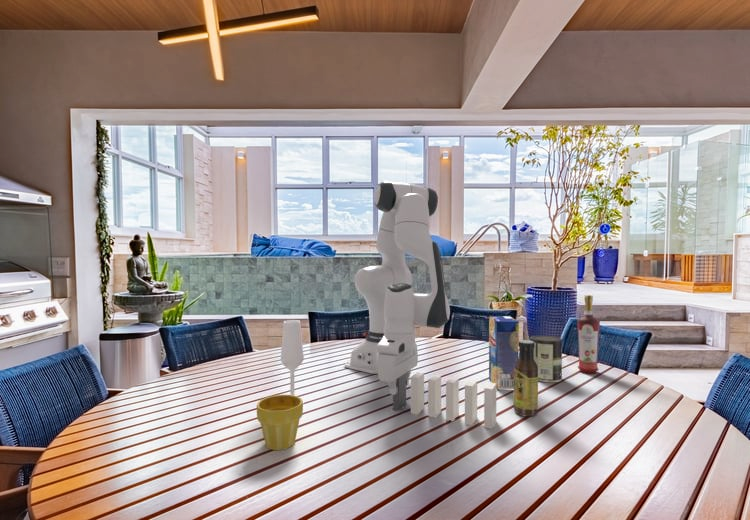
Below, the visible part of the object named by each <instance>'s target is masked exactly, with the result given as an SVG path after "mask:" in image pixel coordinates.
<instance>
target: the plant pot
mask: <svg viewBox="0 0 750 520" xmlns="http://www.w3.org/2000/svg"><path fill="white" fill-rule="evenodd" d="M302 400H303V399H302V398H301V397H300V396H297V395H295V396H294V395H290V394H276V395H270V396H268V397H264V398H262V399H260V400H259V401H258V402H257V404H256V418H257V419H256V420H257V421H258V422H259V423H260V426H261V431H262V434H263V439H264V444H265V446H266V448H268V449H269V450H272V451H282V450H286V449H289V448H291V447H292V446H293V445H294V444H295V443H296V438H297V433H298V429H299V424H300V419H301V418H302V417H303V414H304V412H303V411H304V403H303V401H304V400H303V401H302Z"/></svg>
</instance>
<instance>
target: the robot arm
mask: <svg viewBox="0 0 750 520" xmlns="http://www.w3.org/2000/svg"><path fill="white" fill-rule="evenodd" d="M373 197H374V205H375V207H376V208H377V210H379V211H381V212H383V213H382V216H381V218H380V222H379V228H378V232H377V233H378V234H377V238H376V241H375V242H376V244H375V248H376V251H377V253H378V254H380V255H381V259H382V261H381V265H370V266H366V267H363V268H360V269H358V270H357V272H356V273H355V276H354V286H355V289H356V291H357V292H358V293H359V294H361V296H362V297H363V298H364V299H365V301H366V305H367V308H368V314H369V316H368V317H369V330H367V331H365V332H364V333H363V337H365V339H364V340H363V341H362V342H361V343H359V344H358V345H357V346H356V347H354V348H353V349H352V351H351V354H350V359H349V360H347V361H346V362H344V368H346V369H350V370H354V371H355V370H356V371H359V372H364V373H367V374H371V375H375V374H376V375H377V378H378V380H379V382H381V383H385V384H387V385H388V388H389V395H392V396H393V395H395V394H396V393H397V392H398V391H397V390H398V387H396V379H398V378H399V377H401V376H402V375H404V374H405V373H406V387H407V386H409V384H410V378H411V373H412V369H414V368H416V367H417V366H418V361H419V357H418V356H419V355H418V352H419V351H418V345H417V343H416V330H415V329H416V328H415V326H419V327H423V326H424V327H428V328H434V329H440V328H441V327H444V326H445V325H446V324H447V323H448V321H449V320H450V315H451V307H450V303H449V299H448V296H447V289H446V283H445V282H446V281H445V275H444V268H443V261H442V255H441V250H440V247H439V245H438V242H435V241H433V239H432V238H431V234H430V217H432V216H433V215H434V214H435V213H436V210H437V208H438V203H439V197H438V194H437V191H436V190H435V189H434V188H433V189H432V188H431V187H428V186H426V187H424V186H422V185H418V184H414V183H410V182H409V183H407V182H396V181H395V182H393V181H391V180H384V181H381V182H380V183H379V184H378V185H377V188H376V189H375V191H374V195H373ZM406 255H408V256H410V257H412V258H415V259H417V260H419V261H422V262H423V263H425V264H427V266H428V271H429V279H430V285H431V292H430V293H417V292H416V293H414V288H413V285H412V283H413V276H412V272H411V271H410V269H409V268H408V266H407V262H406Z"/></svg>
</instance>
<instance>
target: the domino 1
mask: <svg viewBox="0 0 750 520" xmlns="http://www.w3.org/2000/svg"><path fill="white" fill-rule="evenodd" d="M396 387H398V390H397V391H398V392H397V393H396V394H395V395H392V410H393V411H398V412H400V411H401V410H402V409H403V408H404V407H406V406H407V386H406V373H405V374H404V375H402V376H401V377H399V378H398V379H396Z"/></svg>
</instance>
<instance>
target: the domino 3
mask: <svg viewBox="0 0 750 520" xmlns="http://www.w3.org/2000/svg"><path fill="white" fill-rule="evenodd" d="M427 402H428V403H427V417H428V416H429V417H428V418H433V417H434V418H433V419H435V417H436V418H437V416H439V414H440V413H441V412H442V375H438V374H433V375H432V376H431V377H429V378H428V379H427Z"/></svg>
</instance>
